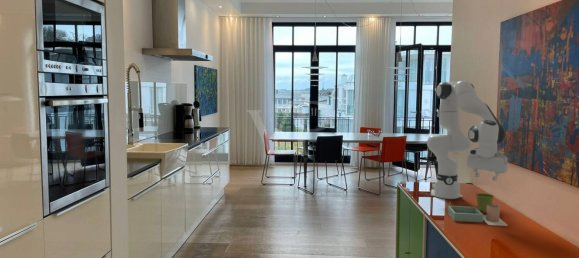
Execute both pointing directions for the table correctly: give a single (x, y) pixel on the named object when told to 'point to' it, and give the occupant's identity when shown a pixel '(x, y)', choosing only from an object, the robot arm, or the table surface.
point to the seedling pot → (493, 213)
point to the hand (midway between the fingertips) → (485, 178)
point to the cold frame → (465, 214)
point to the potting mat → (494, 222)
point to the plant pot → (484, 201)
